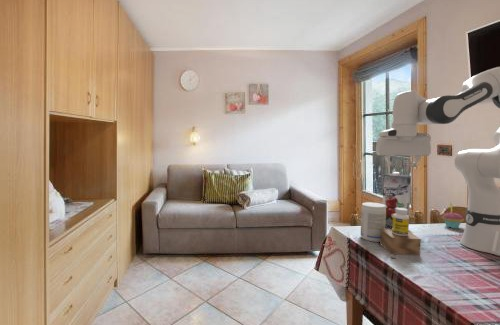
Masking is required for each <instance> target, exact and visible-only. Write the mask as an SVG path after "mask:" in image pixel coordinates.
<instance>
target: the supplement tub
mask: <svg viewBox="0 0 500 325" xmlns="http://www.w3.org/2000/svg"><path fill="white" fill-rule="evenodd" d="M360 208H361V210H360V214H361V215H360V237H361V239H363V240H365V241H369V242H373V243H378V242H381V229H386V227H385V226H386V206H385V205H384V204H383V203H379V202H372V201H371V202H370V201H368V202H367V201H366V202H362V203H361V207H360Z"/></svg>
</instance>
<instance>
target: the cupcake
mask: <svg viewBox="0 0 500 325" xmlns="http://www.w3.org/2000/svg"><path fill="white" fill-rule="evenodd" d="M442 219H443V221H444V223H445V226H446V227H447V228H449V227H451V228H450V229H459V227H460V225H461V224H462V223H463V222H464V223H465V217H464V216H462V215H461V214H460V213H456V212H453V203H450V211H449V212H446V213H444V214H443V215H442Z"/></svg>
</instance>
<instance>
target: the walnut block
mask: <svg viewBox="0 0 500 325" xmlns="http://www.w3.org/2000/svg"><path fill="white" fill-rule="evenodd" d="M421 242H422V239H421V237H419V236H417V235H415V234H414V233H413V232H411V231H409V230H408V235H407V236H399V235H395V234H393V233H392V229H390V228H389V229H386V228H385V229H381V242H380V245H381V246H382V247H383V248H385V250H386V251H388V252H389V254H392V255H406V256H407V255H408V256H409V255H412V256H420V255H421V245H422V244H421Z"/></svg>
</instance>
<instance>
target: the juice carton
mask: <svg viewBox="0 0 500 325" xmlns="http://www.w3.org/2000/svg"><path fill="white" fill-rule="evenodd" d="M383 177H384V179H383V187H382V188H383V191H382V204H384V205H385V206H386V226H385V228H389V229H392V225H393V215H394V214H395V213H396V208H405V209H407V210H408V213H407V215H408V216H409V217H410V205H411V204H410V203H411V202H410V201H411V188H412V176H411V175H409V174H401V173H400V172H399V171H394V172H392V173H387V174H384V176H383Z"/></svg>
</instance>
